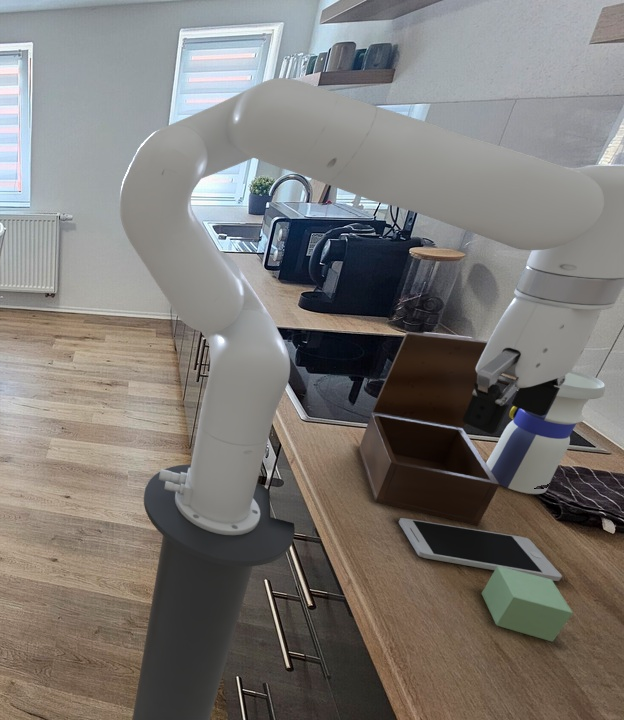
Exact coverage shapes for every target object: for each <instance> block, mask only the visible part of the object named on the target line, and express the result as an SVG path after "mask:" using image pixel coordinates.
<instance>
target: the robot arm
mask: <svg viewBox="0 0 624 720" xmlns="http://www.w3.org/2000/svg"><path fill="white" fill-rule="evenodd" d="M252 159H256V160H259V161H261V162H263V163H267V164H270V165H272V166H275V167H278V168H281V169H283V170H286V171H289V172H292V173H294V174H298V175H301V176H303V177H306V178H308V179H311V180H315V181H317V182H320V183H322V184H325V185H327V186H330V187H334V188H336V189H339V190H342V191H344V192H346V193H349V194H353V195H355V196H358V197H360V198H363V199H366V200H368V201H371V202H374V203H379V204H384V205H387V206H392V207H396V208H400V209H402V210H403V209H404V210H407V211H410V212H413V213H415V214H418V215H422V216H424V217H428V218H430V219H433V220H436V221H439V222H442V223H445V224H447V225H450V226H452V227H456V228H458V229H461V230H464V231H466V232H470V233H473V234H475V235H477V236H481V237H484V238H487V239H489V240H492V241H495V242H497V243H500V244H502V245H505V246H508V247H510V248H514V249H517V250H522V251H531V252H530V254H529V256H528V259H527V261H526V263H525V265H524V268H523V270H522V272H521V274H520V277H519V279H518V282H517V284H516V286H515V289H514V291H513V294H514V295H515V297H514V298H513V299H512V300H511V302H510V304H509V305H508V306H507V308H506V309H505V311H504V312H503V314H502V316H501V317H500V319H499V321H498V322H497V324H496V326H495V328H494V330H493V332H492V334H491V335H490V337H489V340H487V341H488V343H487V345H486V347H485V349H484V351H483V353H482V355H481V357H480V359H479V361H478V364H477V366H476V372H477V373H478V374H477V381H476V382H477V383H475V384H474V388H475V389H474V390H473V392H472V395H473V396H472V399H471V401H470V403H469V406H468V408H467V410H466V412H465V415H464V417H463V422H464V423H466V425H468V426H471V427H473V428H475V429H477V430H480V431H482V432H484V433H487V434H490V435H491V434H495V433H497V432H498V430H499V429H500V427H501V424H502V421H503V420H504V417H505V416H506V414H507V412H508V409H509V407H510V404H508V401H509V400H510V399H511V397H513V395H515V396H514V398H513V400H512V401H511V405H512V407H513V406H515V407H517V408H520V409H523V410H525V411H528V412H531V413H533V414H536V415H539V416H543V415H546V414H547V413H548V411H549V409H550V407H551V405H552V403H553V401H554V399H555V397H556V395H557V393H558V391H559V389H560V388H558V387H560V386H561V385H562V384H563V383H564V381H565V375H566V374H568V373H569V372H570V371H571V370H574V367H575V366H576V365H577V363H578V361H579V359H580V358H581V356H582V354H583V352H584V350H585V348H586V346H587V344H588V343H589V340H590V338H591V336H592V334H593V332H594V329H595V326H596V324H597V322H598V320H599V318H600V314H601V312H602V310H609V309H613V308H614V306H615V304H616V303H617V300H618V298H619V296H620V295H621V293H622V290H623V289H624V164H595V165H593V164H592V165H586V166H580V167H567V166H564V165H561V164H558V163H555V162H551V161H549V160H546V159H543V158H540V157H536V156H534V155H531V154H527V153H524V152H521V151H518V150H514V149H511V148H509V147H506V146H501V145H498V144H495V143H492V142H488V141H485V140H482V139H478V138H475V137H473V136H469V135H465V134H462V133H459V132H456V131H452V130H450V129H447V128H445V127H442V126H439V125H436V124H434V123H431V122H429V121H425V120H422V119H419V118H415V117H411V116H408V115H407V114H406V115H405V114H402V113H401V112H400V113H399V112H396V111H393V110H389V109H386V108H383V107H381V106H377V105H373V104H371V103H368V102H365V101H362V100H358V99H355V98H353V97H350V96H346V95H344V94H340V93H338V92H335V91H331V90H329V89H326V88H323V87H319V86H316V85H313V84H311V83H308V82H304V81H301V80H298V79H292V78H286V77H277V78H276V77H275V78H271V79H267V80H265V81H262V82H260V83H258V84H256V85H253V86H251V87H249V88H247V89H245V90H243V91H242V92H239V93H238V94H236V95H234V96H232V97H230V98H227V99H225V100H223V101H220V102H219V103H217V104H215V105H213V106H210V107H208V108H206V109H203V110H201V111H198V112H196V113H194V114H192V115H190V116H187V117H185V118H183V119H180V120H178V121H176V122H173V123H171V124H168V125H166V126H163V127H161V128H159V129H158V130H156V131H154V132H152V133H151V135H149V136H147V138H146V139H145V140H144V141H143V143H141V144H140V146H139V148H138V149H137V151H136V153H135V155H134V156H133V158H132V160H131V161H130V164H129V166H128V169H127V171H126V173H125V176H124V178H123V180H122V185H121V187H120V188H121V189H120V193H119V207H118V209H119V215H120V216H119V217H120V221H121V225H122V229H123V231H124V233H125V235H126V237H127V239H128V241H129V243H130V245H131V246H132V247H133V249H134V251H135V252H136V254H137V255H138V256H139V258H140V260H141V262H142V263H143V264H144V266H145V267H146V269H147V271H148V272H149V274H150V276H151V278H152V279H153V280H154V282H155V283H156V285H157V286H158V288H159V290H160V291H161V292H162V294H163V295H164V297H165V298H166V300H167V301H168V303H169V305H170V306H171V308H172V309H173V311H174V314H175V315H176V316H177V317H178V318H179V320H180V321H181V322H182V323H184V324H185V325H186V326H187V327H188V328H191V329H193V330H195V331H198V332H201V334H202V335H203V337H204V338H205V340H206V342H207V343H208V346H209V350H208V351H209V371H208V377H207V381H206V386H205V390H204V394H203V397H202V402H201V408H200V413H199V418H198V425H197V430H196V436H195V440H194V441H195V443H194V446H193V452H192V457H191V462H190V464H191V468H188V472H187V473H183V472H181V474H178V473H174V472H172V471H168V470H164V469H165V468H164V469H163V468H160V470H159V472H160V475H159V480H161V481H165V482H166V483H165V488H164V489H166V490H170V491H175V492H176V494H175V503H176V506H177V508H178V510H179V511H180V512H181V514H182V515H183V516H184V517H185V518H186V519H187V520H189V521H190V522H192V523H193V524H195V525H196V526H198V527H200V528H202V529H205V530H207V531H210V532H213V533H217V534H222V535H241V534H245V533H248V532H250V531H252V530H253V529H254V528H255V527H256V526H257V525H258V522H259V519H260V509H259V506H258V504H257V503H256V501H255V500H254V499H253V496H254V492H255V488H256V484H257V483H258V480H259V477H260V472H261V469H262V465H263V462H264V457H265V454H266V450H267V445H268V441H269V439H270V434H271V430H272V426H273V422H274V418H275V416H276V413H277V409H278V407H279V404H280V402H281V399H282V397H283V395H284V393H285V392H286V391H285V390H286V389H287V386H288V383H289V381H290V376H291V375H290V374H291V359H290V354H289V351H288V348H287V346H286V343H285V341H284V339H283V336H282V335H281V333H280V331H279V329H278V327H277V324H276V322H275V321H274V319H273V317H272V316H271V314H270V313H269V311H268V309H267V308H266V306H265V305H264V304H263V302H262V300H261V299H260V298H259V296H258V294H257V293H256V291H255V290H254V289H253V287H252V285H251V283H250V282H249V281H248V279H247V278H246V276H245V275H244V273H243V272H242V270H241V269H240V267H239V265H238V264H237V262H236V261H235V260H234V259H233V258H232V257H231V256H230V255H229V254H227V253H226V252H224V251H222V250H220V249H217V248H216V246H215V245H214V243H213V242H212V240H211V239H210V237H209V235H208V233H207V231H206V230H205V228H204V227H203V225H202V224H201V222H200V220H198V218H197V217H196V214H195V213H194V211H193V209H192V208H193V207H192V194H193V192H194V191H195V188H196V187H197V185H198V184H199V183H200V181H201V180H202V179H205V178H207V177H209V176H212V175H215V174H218V173H219V172H223V171H225V170H228V169H230V168H233V167H235V166H237V165H241V164H243V163H245V162H247V161H249V160H252ZM503 374H504V375H503ZM505 375H507V376H505ZM508 376H510V377H508ZM511 377H513V378H511ZM514 378H515V379H514ZM496 383H498V384H500V385H501V384H502V385H504V386H506V387H505V388H504V389H503V390H502V391H501V389H500V386H499V385H498V384H496ZM554 385H555V386H558V387H555V386H554ZM515 393H516V394H515ZM174 483H176V484H174ZM178 484H179V485H178Z"/></svg>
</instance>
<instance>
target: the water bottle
mask: <svg viewBox="0 0 624 720" xmlns="http://www.w3.org/2000/svg"><path fill="white" fill-rule="evenodd" d="M554 386H555V385H554ZM555 387H558V386H555ZM558 388H560V389H559V391H558V393H557V395H556V397H555V399H554V401H553V403H552V405H551V407H550V409H549V411H548V413H547V414H546V415H543V416H539V415H536V414H533V413H531V412H528V411H525V410H523V409H520V408H517V407H515V406H513V405H512V407H511V409H510V410H509V413H508V416H509V418H510V419H511V421H510V422H509V423H508V424H507V425H506V427H505V428H504V430H503V432H502V434H501V435H500V437H499V440H498V442H497V443H496V445H495V447H494V448H493V450H492V452H491V453H490V455H489V457H488V459H487V461H486V462H485V463H486V464H487V466H488V467H489V469H490V471H491V472H492V474H493V475H494V477H495V478H496V480H497V481H498V483H499V484H500V485H499V486H502V487H504V488H507V489H510V490H513V491H516V492H520V493H524V494H530V495H540V494H544V493H546V492H547V490H548V489H549V486H548V487H547V488H544V489H534V488H536V487H537V486H541V485H547V484H549V483H550V484H551V481H552V480H553V477H554V475H555V474H556V472H557V469H558V467H559V465H560V463H561V461H562V460H563V458H564V456H565V454H566V453H567V451H568V448H569V446H570V444H571V443H570V442H571V437H570V436H571V435H572V432H573V431H574V429H575V427H576V426H577V424H580V423H583V421H584V419H585V417H584V415H583V409H584V406H585V405H586V404H587V403H588V401H589V400H596V399H597V400H598V399H601V398H602V397H603V396H604V395H605V388H606V384H605V383H604V381H602V380H600V379H599V378H597V377H595V376H592V375H589V374H587V373H584V372H581V371H578V370H574V369H572V370H571V371H570V372H569V373H568V374H566V375H565V381H564V383H563V384H562V385H561V386H560V387H558ZM550 484H549V485H550Z"/></svg>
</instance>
